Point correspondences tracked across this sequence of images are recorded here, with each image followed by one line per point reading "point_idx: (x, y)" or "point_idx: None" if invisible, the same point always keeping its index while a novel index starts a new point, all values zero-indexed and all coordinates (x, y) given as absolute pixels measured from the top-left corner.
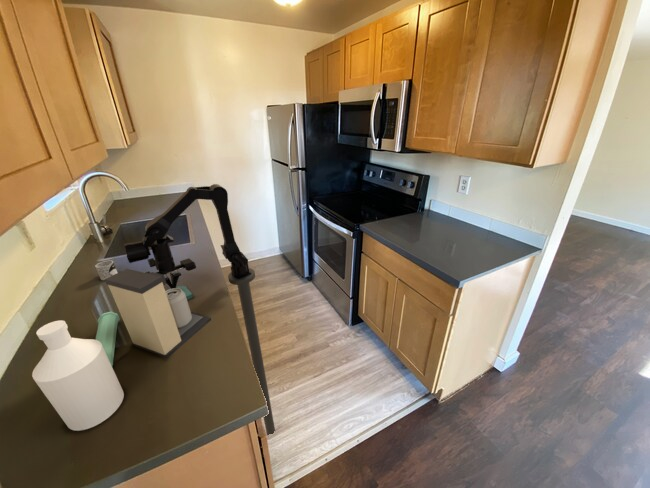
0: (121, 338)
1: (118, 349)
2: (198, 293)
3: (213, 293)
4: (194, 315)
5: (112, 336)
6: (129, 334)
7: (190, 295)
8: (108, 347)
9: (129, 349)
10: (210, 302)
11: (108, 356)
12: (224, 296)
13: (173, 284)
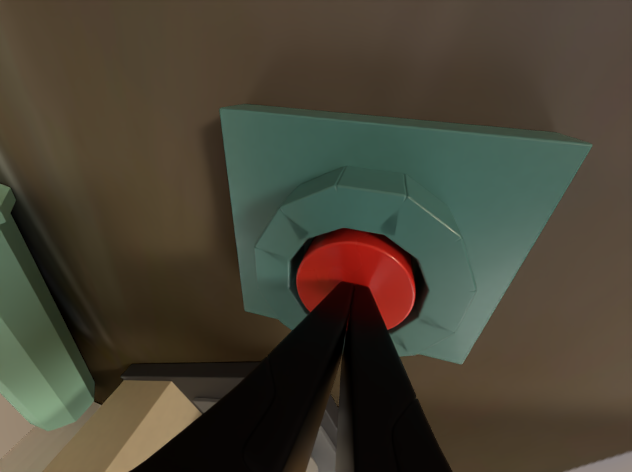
0: (83, 307)
1: (93, 343)
2: (528, 325)
3: (582, 407)
4: (334, 460)
5: (29, 365)
6: (85, 426)
7: (442, 352)
8: (43, 402)
9: (125, 367)
10: (470, 433)
11: (62, 417)
12: (572, 464)
13: (337, 436)
